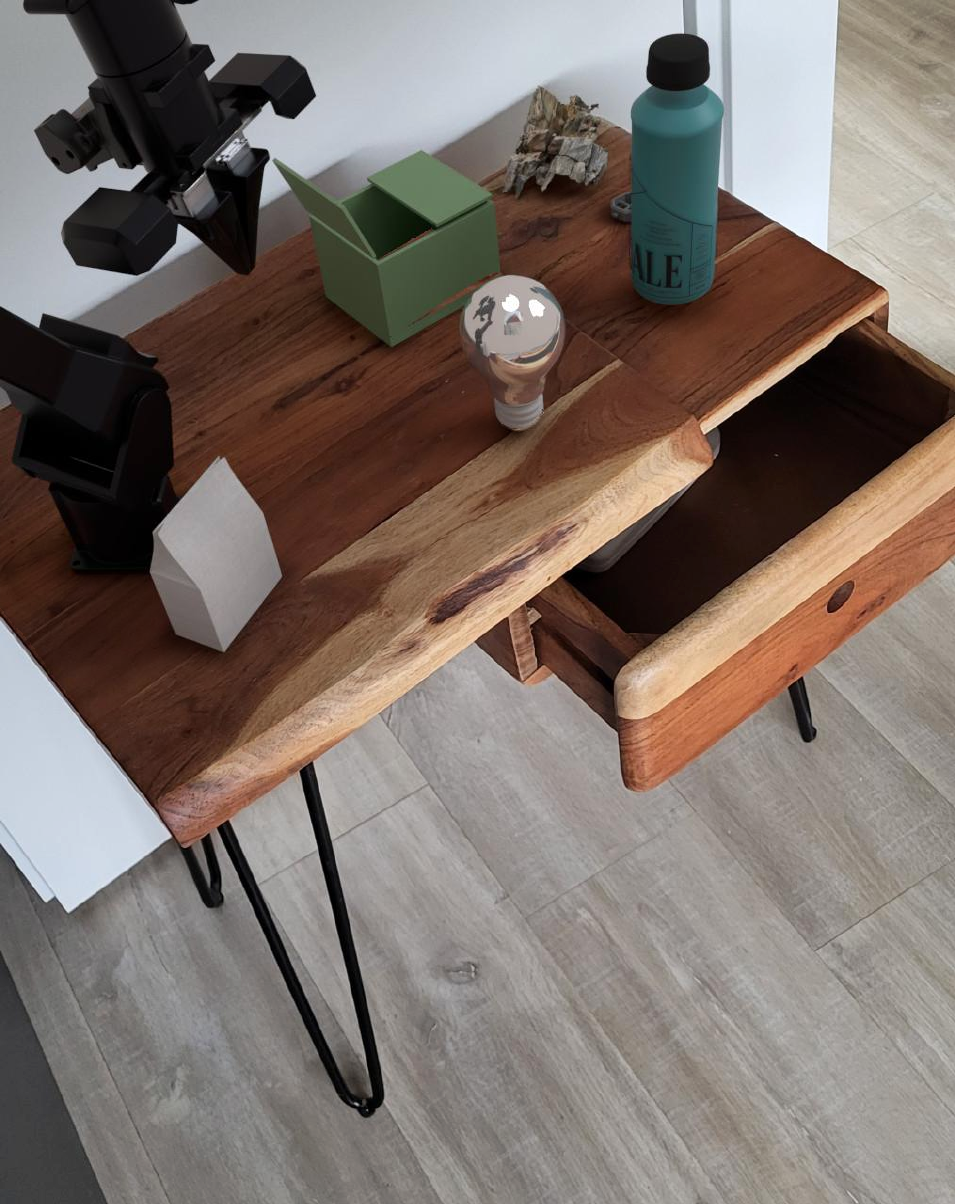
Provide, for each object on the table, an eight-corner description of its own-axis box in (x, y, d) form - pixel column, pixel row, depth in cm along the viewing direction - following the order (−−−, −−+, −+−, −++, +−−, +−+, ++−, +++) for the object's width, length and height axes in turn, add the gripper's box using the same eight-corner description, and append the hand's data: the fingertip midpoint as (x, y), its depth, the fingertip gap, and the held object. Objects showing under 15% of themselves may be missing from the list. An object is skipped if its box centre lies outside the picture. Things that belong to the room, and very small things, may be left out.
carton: (391, 347, 99) (375, 257, 93) (325, 296, 104) (306, 207, 98) (501, 284, 103) (493, 193, 97) (433, 238, 108) (421, 149, 102)
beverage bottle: (714, 270, 102) (729, 16, 87) (715, 324, 98) (731, 68, 83) (629, 271, 103) (629, 20, 88) (627, 325, 99) (626, 71, 83)
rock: (634, 109, 117) (630, 68, 114) (597, 203, 108) (592, 160, 105) (542, 113, 120) (536, 72, 117) (499, 204, 110) (491, 163, 108)
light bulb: (456, 450, 91) (437, 310, 82) (491, 386, 96) (476, 245, 86) (552, 469, 89) (543, 326, 80) (583, 402, 94) (577, 260, 84)
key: (598, 215, 108) (628, 229, 106) (598, 204, 107) (627, 217, 105) (699, 156, 113) (728, 168, 111) (699, 145, 112) (729, 157, 110)
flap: (376, 256, 93) (373, 259, 93) (308, 207, 98) (305, 210, 98) (344, 206, 89) (341, 209, 89) (274, 157, 94) (271, 160, 94)
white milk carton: (282, 576, 85) (248, 464, 78) (224, 652, 82) (182, 542, 74) (235, 560, 87) (197, 448, 79) (175, 634, 83) (130, 524, 75)
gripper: (138, -38, 83) (236, 176, 95) (-61, 135, 75) (72, 346, 86) (272, -37, 78) (358, 190, 89) (73, 150, 69) (197, 373, 81)
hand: (246, 271), depth 86 cm, fingers closed
